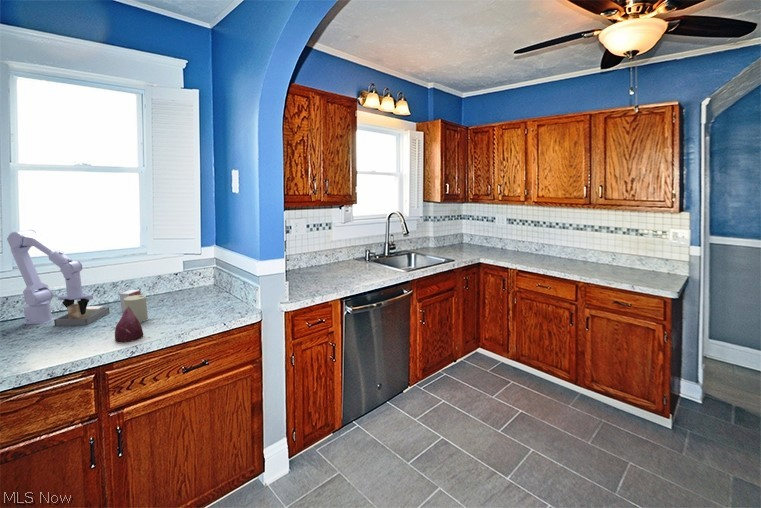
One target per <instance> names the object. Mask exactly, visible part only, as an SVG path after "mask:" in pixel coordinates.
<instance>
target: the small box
mask: <svg viewBox="0 0 761 508" xmlns="http://www.w3.org/2000/svg"><path fill="white" fill-rule="evenodd" d="M141 292H142V291H141V290H140V289H129V290H127V291H123V292H120V293H119V299H120V300H119V302H120V310H121V311H120V312H121V313H124V311H125V303H124V298H126V297H129V296H134V295H142V293H141Z"/></svg>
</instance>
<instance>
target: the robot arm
mask: <svg viewBox="0 0 761 508" xmlns="http://www.w3.org/2000/svg"><path fill="white" fill-rule="evenodd" d="M6 240H7V243H8V245H9V247H10V252H11V254H12V256H13V259H14V261H15V263H16V265H17V267H18V270H19V272H20V274H21V276H22V278H23V281H24V284H25V286H26V287H25V288H24V290H23V291H22V294H23V300H24V303H25V304H26V305H25V306H24V309H23V315H24V321H25V322H24V325H25V324H26V325H31V324H37V325H38V324H39V325H40V324H48V323H49V322H51V321H54V320H55V319H57V317H53V314H52V309H51V302H52V299H53V298H54V293H53V291H52V290H51V289H50V287H49V285H48V284H46V283H43V282H42V281H41V279H40V276H39V273H38V271H37V270H36V267H35V264H34V262H33V260H32V258H31V256H30V253H29V251H30V249H31V248H32V247H35V248H36V249H38V250H39V251H41V252H42V253H44V254H45V255H47V256H48V260H49V261H50V262H52V263H53V264H55V266H57V267H58V268H60V269H59V270H60V272H61V274H62V275H63V278H64V279H65V280H64V281H65V288H66V293H67V294H63V295H62V294H61V295H58V296H57V300H58V301H62V302H61V304H63V306H65V308H66V309H67V307H68V306H70V305H72V304H74V303H75V300H77V301H76V303H78V304H79V307H80V312H81V315H83V314H85V313H86V307H87V306H88V304H89V301H91V300H94V295H93V294H84V293H83V286H82V285H83V284H82V280H81V272H82V270H83V265H82V263H81V262H80V261H79V260H77V259H72V258H70V257H69V256H68V255H66V253H64V251H61V250H55V248H53V247H52V246H51V245H50V244H49V243H47V242H46V241H45V240H44V239H43V238H42V236H41V234H40V233H38V232H37V231H36V230H35V229H28V230H22V231H12V232H10V233H9V235H7V239H6Z"/></svg>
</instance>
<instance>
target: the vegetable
mask: <svg viewBox="0 0 761 508" xmlns="http://www.w3.org/2000/svg"><path fill="white" fill-rule="evenodd" d="M122 313H123V314H122V316H121V318H120V319H119V321H118V323H116V326H115V329H114V340H115V342H117V343H121V344H123V343H125V344H126V343H130V342H133V341H137V340H139V339H141V337H142V338H143V337H144V336H143V335H144V330H143V327H142V325H141V322H139V320H138V319H137V318H136V316H135V315H134V313H133V312H132V310H131V308H129V306H128V307H127V308H126V309H125V311H124V312H122Z"/></svg>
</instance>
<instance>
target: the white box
mask: <svg viewBox="0 0 761 508" xmlns="http://www.w3.org/2000/svg"><path fill="white" fill-rule="evenodd" d="M104 307H105V306H104V305H91V306H90V305H87V307H86V309H87V317H90V316H92V315H94V314H96V313H98V312H99V311H101V310H103V308H104Z"/></svg>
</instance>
